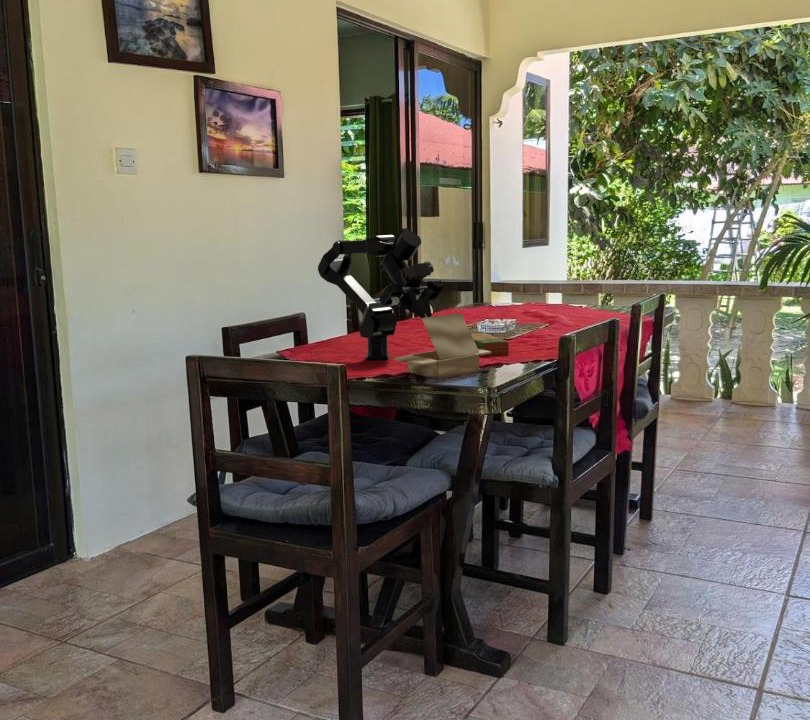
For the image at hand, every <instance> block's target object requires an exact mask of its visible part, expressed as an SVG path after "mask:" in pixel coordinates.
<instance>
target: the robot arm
mask: <svg viewBox="0 0 810 720" xmlns="http://www.w3.org/2000/svg"><path fill="white" fill-rule="evenodd" d="M421 245H422V238H421V237H420V235H418V234H417V233H415V232H413V231H412V230H411V231H410V230H409V229H408V227H404V228H403V227H401V228H400V230H399V232H398V234H397V235H396V236H395V235H393V234H380V235H379V234H378V235H372V236H369V237H366V239H362V240H361V239H360V240H350V239H344V240H343V239H341V240H336V241H334V242H333V244H332V247H330V248H329V250H328V251H326V252H325V253H324V254H323V255H322V257H321V259H320V262H319V263H318V264H317V271H318V272H317V273H318V274H319V276H320V278H322V279H323V280H324V281H325V282H327V283H330V284H332V285H335V286H337V287H338V288H339V290H341V292H342V293H344V295H345V296H346V297H347V298H348V299H349V300H350V301H351V303H353V305H354V306H355V307H356V308H357V309H358V311H360V312H361V314H362V322H363V324H362V325H361V326H360V327H359V329H358V331H359V335H360V338H366V339H367V354H366V355H365V356H364V357H365V358H364V359H365V360H389V358H390V356H391V353H389V349H388V347H389V346H388V339H389V338H388V336H395V332H396V327H397V323H398V319H397V315H396V313H395V312H394V311H395V309H394V308H392V307H391V305H393V299H395V298H396V299H398V303H397V307H399V308H400V307H401V308H402V309H404V310H407V311H408V312H410V313H412V314H414V315H416V316H417V317H419V318H420V319H422V318H427V317H433V315H432V313H433V312H432V308H431V304H430V302H432V301H435V300H437V298H438V297H439V295H440V294H441V293H442V291H443V290H444V289H445V287H446V286H445V284H444V283H443V281H442V280H439V279H434V280H428V281H427V283H426V284H425V285H423V286H422V284H423V283H424V282H425V280H424V279H425V278H426V277H429V276H431V275H432V273H434V271H435V269H434V266H433V264H432V262H430V261H429V260H428V261H424V262H420V263H419V262H418V263H414V264H412V265H411V266H410V267H409V265H408V263H407V262H406V261H410V260H411V259H412V258H413V257H414V255H415V254H416V252H417V251H418V249H419V248H420V246H421ZM352 254H367V256H371V257H373V258H377V257H383V259H382V260H380V261H379V265H378V271H380V272H382V271H383V272H384V271H386V273H387V275H388V276H389V278H390V279H391V280H390V282H389V283H390V284H386V286H385V288H384V289H383V290H382V292H381V294H380V295H379V301H378V302H376V301H375V300H374V299H373V298H372V296H370V294H369V293H368V292H367V291H366V290H365V289H364V287H362V285H360V283H358V281H357V280H356V279H355V278H354V277H353V276H352V275H351V267H350V266H351V265H352ZM340 255H343V257H339V256H340Z"/></svg>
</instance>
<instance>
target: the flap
mask: <svg viewBox="0 0 810 720" xmlns="http://www.w3.org/2000/svg"><path fill="white" fill-rule="evenodd" d="M421 322H423V325H424V327H425V329H426V332H427V334H428V336H429V338H430V341H431V343H432V345H433V347H434V349H435V350H436V352H437V354H438V356H439V359H440V360H442V359H448V358H454V357H459V356H465V355H470V354H476V353H479V350H478V348H477V346H476V344H475V342H474V340H473V337H472V335H471V334H472V333H471V331H470V329H469V327H468V324H467V322H466V321H465V319H464V316H463V314H462V313H461V312H459V313H451V314H443V315H436V316H431V317H427V316H426V317H425V318H421Z"/></svg>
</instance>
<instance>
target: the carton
mask: <svg viewBox="0 0 810 720" xmlns="http://www.w3.org/2000/svg"><path fill="white" fill-rule="evenodd" d="M471 335H472V337H473V340H474V342H475V344H476V346H477V348H478V349H481V350H487V351H491V353H490V354H484V355H481V357H486V356H487V355H490V356H499V354H501V355H509V354H508V353H509V351H510V346H509V344H510V343H509V341H508V340H506V339H503V338H499V337H497V336H494V335H490V334H489V333H484V332H483V333H482V332H481V333H480V332H479V333H471ZM487 357H488V356H487Z"/></svg>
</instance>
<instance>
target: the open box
mask: <svg viewBox="0 0 810 720" xmlns="http://www.w3.org/2000/svg"><path fill="white" fill-rule="evenodd" d="M478 350H479V353H476V354H470V355H465V356H459V357H454V358H448V359H442V360H440V359H439V356H438V354H437V352H436V350H430V351H429V350H428V351H423V352H418V353H417V352H416V353H411V354H407V355H403V356H397V357H393V361H398V362H402V363H407V366H406V367H407V373H409V372H411V373H410V374H413V373H414V374H413V375H419V376H423V377H428V378H432V379H436V380H441V379H446V378H452V377H457V376H462V375H467V374H472V373H477V372H480V356H482V355H484V354H490V353H491V351H487V350H481V349H478Z"/></svg>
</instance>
